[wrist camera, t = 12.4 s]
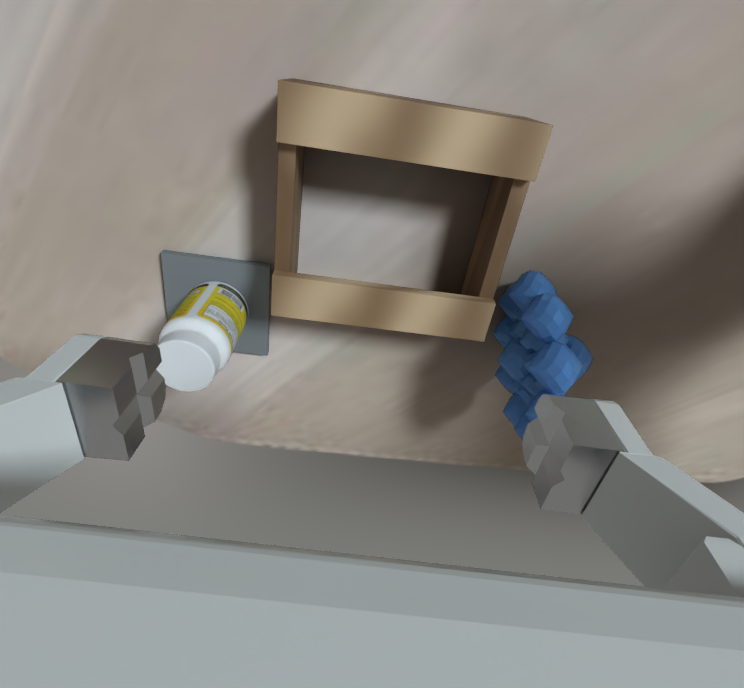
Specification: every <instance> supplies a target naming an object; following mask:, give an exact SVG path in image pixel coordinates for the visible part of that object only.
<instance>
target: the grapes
mask: <svg viewBox="0 0 744 688" xmlns="http://www.w3.org/2000/svg"><path fill="white" fill-rule="evenodd" d="M556 294H557V292H556V290H555V289H554V287H553V286H552V284H551V283H550V281H549V280H548V279H547V278H546V277H545V276H544V275H543V274H542V273H540V272H536V271H531V270H530V271H528V272H526V273H524V274H522V275H521V277H520V278H519V279H518V280H517V281H516V282H514V283H512V284H511V285H510V286H509V287H508V288H507V290H506V291H505V292H504V294H503V295H502V297H501V299H500V300H499V302H498V304H499V305H500V307H501V308H502V309H503V311H504V312H505V313H506V314H507V315H506V316H505V317H504V318H503V320H502V321H501V322H500V324H499V325H498V327H497V328H496V330H495V332H494V336H495V337H496V339H497V340H498V341H499V343H500V344H501V345H502V346H503V347H504V348H505V349H504V351H503V352H502V354H501V356H500V358H499V360H498V362H499V363H500V364H501V365H500V367H499V368H498V370H497V372H496V374H495V375H496V377H497V378H498V380H499V381H500V382H501V383H502V385H503V386H504V387H505V388H506V389H507V390H508V391H509V392H511V393H513V395H512V396H511V397H510V399H509V401H508V403H507V405H506V406H505V408H504V410H503V412H504V414H505V415H506V417H507V418H508V419H509V420H510V422H511V423H512V424H513V425H514V426H515V430H516V432H517V433H518V435H519V436H520V437H521V438H522V440H523V435H524V433H525V430H526V428H527V425H528V423H530V422H531V421H533V420H534V419H536V418H537V417H538V416H537V413H536V411H535V406H536V404H537V401H538V399H539V398H540V397H541V396H542V395H543V394H549V395H557V396H565V394H566V391H568V390H569V389H570V388H571V387H572V386H573V385H574V384H575V382H576V380H578V379H580V378H581V377H582V376H583V375H584V374H585V373H586V372H587V370H588V368H589V366H590V364H591V362H592V359H593V356H592V354H591V353H590V351H589V350H588V348H587V347H586V346H585V344H584V343H583V342H582V341H580V340H579V339H578V338H577V337H574V336H571V335H568V336H567V335H566V334H565V332H566V331H567V329H568V327H569V325H570V323H571V321H572V319H573V317H574V316H573V315H572V313H571V312H570V310H569V309H568V307H567V306H566V305H565V303H564V302H563V301H562V300H561V299H560V298H559V297H558V296H557V295H556Z"/></svg>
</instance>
